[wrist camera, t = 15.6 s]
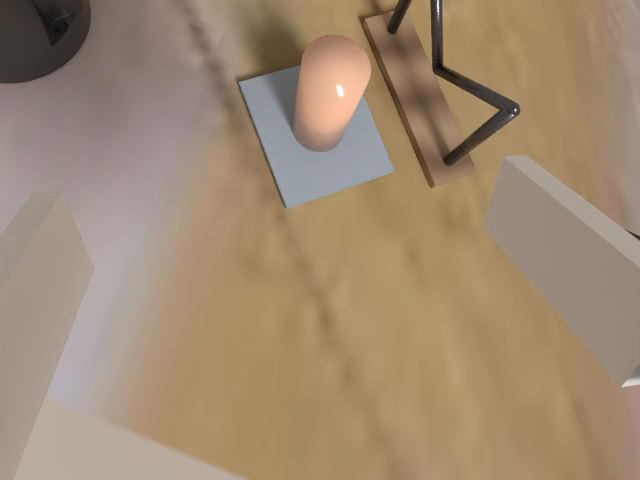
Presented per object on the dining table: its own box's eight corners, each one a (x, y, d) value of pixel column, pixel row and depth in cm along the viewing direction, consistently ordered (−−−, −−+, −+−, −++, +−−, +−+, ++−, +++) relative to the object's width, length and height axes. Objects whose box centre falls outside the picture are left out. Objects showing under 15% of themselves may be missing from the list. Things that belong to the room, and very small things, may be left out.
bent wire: (385, 25, 46) (427, -74, 34) (394, 23, 46) (440, -77, 34) (445, 167, 44) (513, 115, 32) (455, 164, 45) (526, 110, 33)
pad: (239, 87, 44) (239, 82, 43) (343, 57, 46) (345, 52, 45) (286, 209, 43) (286, 207, 42) (391, 173, 45) (394, 170, 44)
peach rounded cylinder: (284, 110, 43) (291, 44, 32) (333, 96, 44) (355, 27, 34) (302, 158, 43) (315, 107, 32) (352, 143, 44) (381, 88, 33)
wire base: (362, 25, 47) (364, 18, 46) (401, 15, 48) (405, 7, 47) (430, 188, 45) (435, 185, 44) (470, 174, 46) (476, 170, 45)
